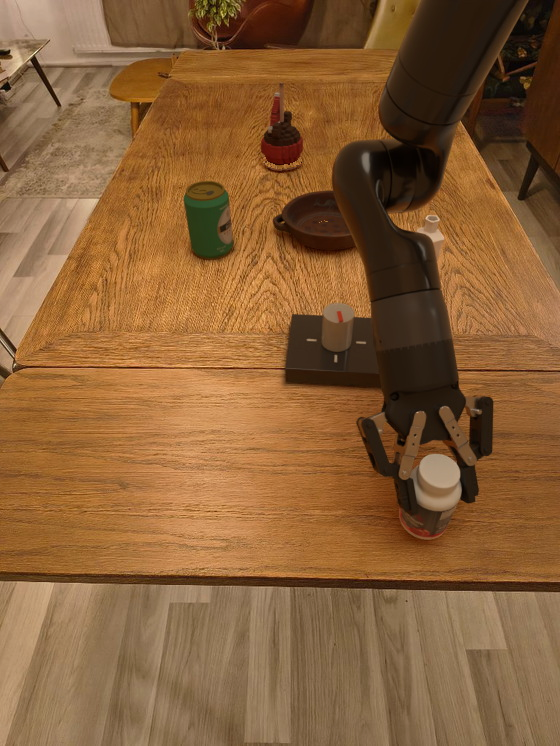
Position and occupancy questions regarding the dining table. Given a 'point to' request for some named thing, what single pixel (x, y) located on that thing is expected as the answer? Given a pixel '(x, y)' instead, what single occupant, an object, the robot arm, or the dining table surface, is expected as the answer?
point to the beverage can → (208, 219)
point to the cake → (281, 136)
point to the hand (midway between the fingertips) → (439, 506)
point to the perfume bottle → (433, 232)
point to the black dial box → (330, 355)
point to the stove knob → (337, 327)
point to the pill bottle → (433, 496)
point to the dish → (315, 221)
